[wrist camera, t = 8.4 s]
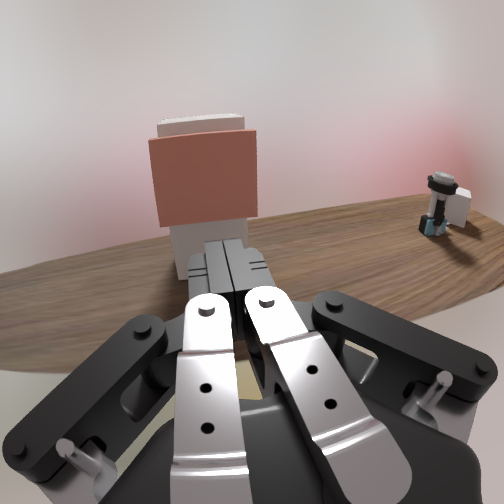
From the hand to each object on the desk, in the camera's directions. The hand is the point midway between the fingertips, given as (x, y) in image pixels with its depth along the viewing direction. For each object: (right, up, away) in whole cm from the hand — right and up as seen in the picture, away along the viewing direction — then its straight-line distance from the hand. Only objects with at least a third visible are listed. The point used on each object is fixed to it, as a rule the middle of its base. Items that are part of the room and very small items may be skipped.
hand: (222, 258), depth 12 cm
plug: (-3, +5, +17) cm, 18 cm away
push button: (+32, +3, +30) cm, 43 cm away
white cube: (+40, +7, +35) cm, 53 cm away
